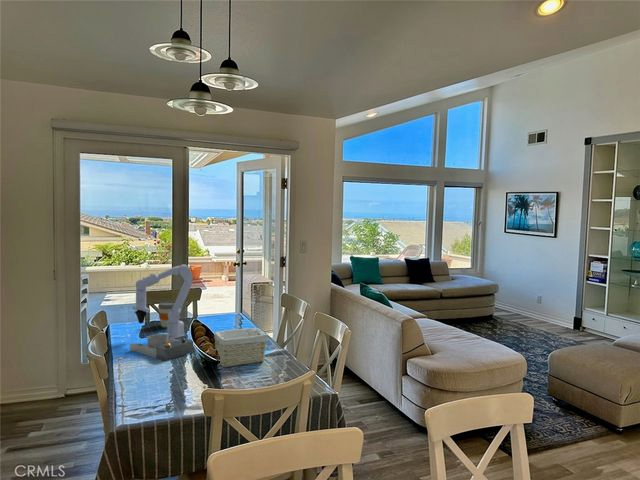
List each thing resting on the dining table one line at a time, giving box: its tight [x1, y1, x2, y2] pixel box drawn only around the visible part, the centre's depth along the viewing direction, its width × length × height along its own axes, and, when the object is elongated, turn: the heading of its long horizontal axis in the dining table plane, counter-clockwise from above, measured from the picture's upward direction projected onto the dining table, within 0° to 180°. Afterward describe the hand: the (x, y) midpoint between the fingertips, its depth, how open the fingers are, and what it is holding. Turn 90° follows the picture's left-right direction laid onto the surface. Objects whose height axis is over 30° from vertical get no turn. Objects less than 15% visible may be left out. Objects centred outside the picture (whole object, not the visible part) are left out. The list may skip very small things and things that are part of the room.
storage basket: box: [213, 327, 268, 368], centre depth 218 cm, size 24×16×15 cm
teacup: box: [146, 333, 171, 348], centre depth 233 cm, size 14×11×8 cm
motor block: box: [129, 338, 194, 362], centre depth 231 cm, size 22×28×7 cm
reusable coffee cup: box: [157, 300, 176, 328], centre depth 282 cm, size 13×13×15 cm
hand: (141, 322), depth 250 cm, fingers closed
